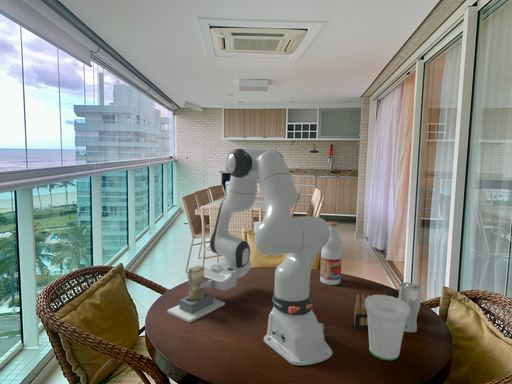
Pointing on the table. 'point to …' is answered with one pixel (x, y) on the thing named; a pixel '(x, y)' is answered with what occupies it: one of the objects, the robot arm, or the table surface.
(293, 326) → the robot arm
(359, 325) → the ammunition clip
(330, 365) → the table surface
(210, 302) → the stand
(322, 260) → the fruit juice
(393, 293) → the dark grey rounded lump
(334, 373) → the table surface
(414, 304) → the beer glass
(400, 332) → the cup
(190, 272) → the slat
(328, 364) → the table surface
